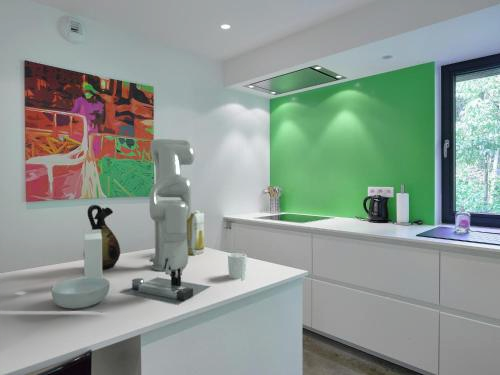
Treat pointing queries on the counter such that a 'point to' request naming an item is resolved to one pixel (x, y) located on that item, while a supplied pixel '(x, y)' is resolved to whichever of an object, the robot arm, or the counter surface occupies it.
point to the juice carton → (195, 233)
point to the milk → (93, 253)
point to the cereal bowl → (80, 292)
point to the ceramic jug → (105, 236)
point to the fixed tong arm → (164, 291)
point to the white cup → (237, 265)
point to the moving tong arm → (139, 281)
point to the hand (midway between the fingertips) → (176, 287)
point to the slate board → (196, 290)
